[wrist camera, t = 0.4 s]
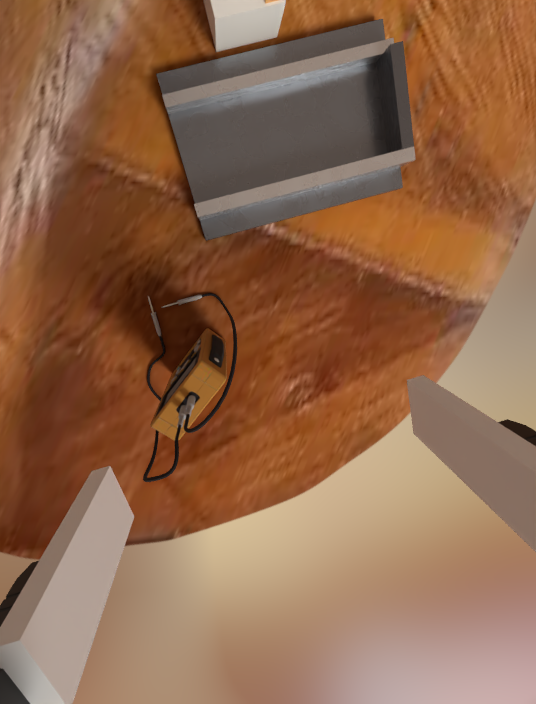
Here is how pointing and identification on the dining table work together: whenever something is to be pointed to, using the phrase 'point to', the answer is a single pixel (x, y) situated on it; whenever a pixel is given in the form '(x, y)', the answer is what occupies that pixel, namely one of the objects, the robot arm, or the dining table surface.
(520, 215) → the dining table surface
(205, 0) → the block
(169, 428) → the multimeter
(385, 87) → the rail base
